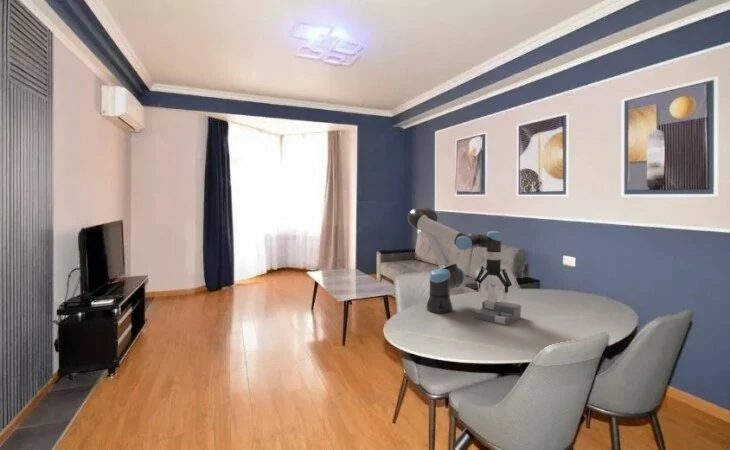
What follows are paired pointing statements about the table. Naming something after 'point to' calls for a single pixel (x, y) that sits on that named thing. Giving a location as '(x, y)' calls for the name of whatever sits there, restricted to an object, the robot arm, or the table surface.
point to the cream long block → (493, 293)
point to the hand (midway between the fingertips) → (492, 296)
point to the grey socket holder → (499, 312)
